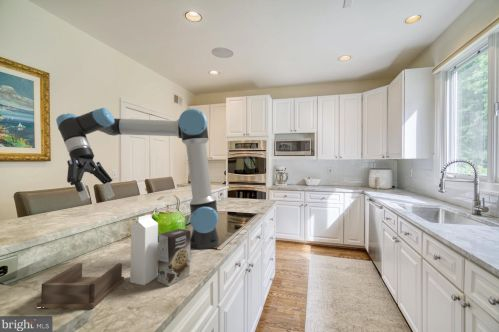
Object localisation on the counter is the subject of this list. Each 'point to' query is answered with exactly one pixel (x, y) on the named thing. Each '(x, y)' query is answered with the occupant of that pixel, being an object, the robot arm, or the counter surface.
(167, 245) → the cookie box
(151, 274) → the milk
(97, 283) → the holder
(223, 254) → the counter surface
